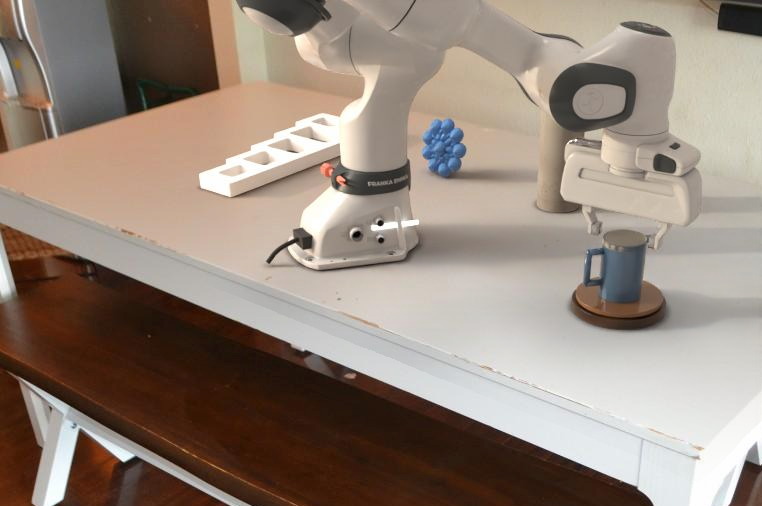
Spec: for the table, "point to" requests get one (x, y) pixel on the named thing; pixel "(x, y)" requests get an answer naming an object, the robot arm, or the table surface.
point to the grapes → (443, 147)
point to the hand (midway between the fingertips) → (624, 240)
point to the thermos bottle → (553, 165)
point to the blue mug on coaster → (619, 278)
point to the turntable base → (615, 321)
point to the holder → (277, 156)
